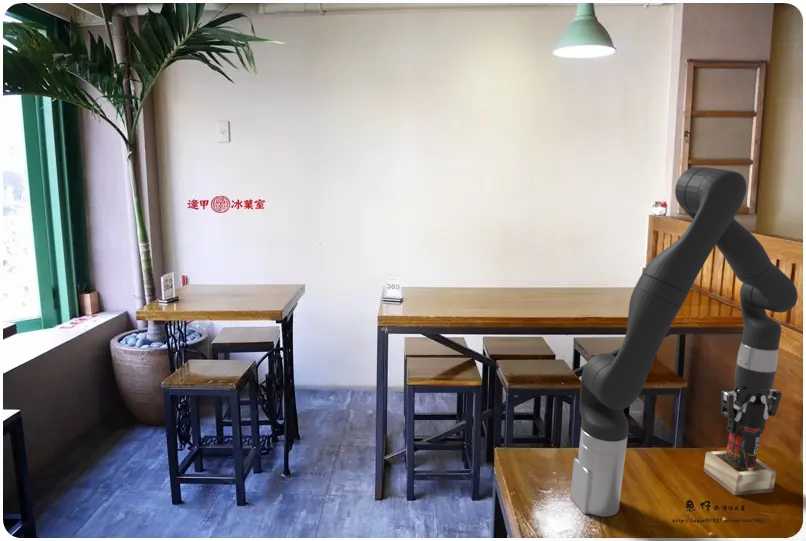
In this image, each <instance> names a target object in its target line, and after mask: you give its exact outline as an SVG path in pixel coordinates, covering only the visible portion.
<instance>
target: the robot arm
mask: <svg viewBox="0 0 806 541" xmlns="http://www.w3.org/2000/svg"><path fill="white" fill-rule="evenodd" d="M746 181H747V180H746V179H745V176H744V175H743V174H741V173H740V172H738V171H735V170H734V171H733V170H728V169H721V168H715V167H714V168H713V167H707V166H706V167H704V166H697V167H696V166H695V167H694V166H693V167H692V168H689V169H687V170H685V171H684V172H683V173H682V174H681V175H680V176H679V178H678V179H677V181H676V184H675V189H674V194H675V199H676V201H677V203H678V205H679V206H680V208H681V209H682V210H683V211H684V212H685V213H686V214H687V215H688V216H689V217H690V218H691V219H692V220H691V222H690V224H689V226H688V227H687V229H686V230H685V231H684V233H682V235H681V236H680V237H679V238H677V240H676V241H675V242H673V243H672V244H670V245H669V246H668V247H667V248H665V249H664V250H663V251H662V252H660V253H659V254H658V255H656V256H655V257H654V258H653V259H652V260H651V261H649V262H648V264H647V265H646V266H645V267H644V269H643V271H642V274H641V275H640V277H639V279H638V281H637V282H636V284H635V286H634V288H633V290H632V293H631V295H630V300H629V305H628V306H629V307H628V314H627V324H626V325H627V326H626V332H625V336H624V339H623V342H622V344H621V346H620V348H619V351H618V352H617V354H616V356H615V355H612V354H610V353H604V352H602V353H598V354H594V356H591V357H590V358H589V359H588V360H587V362H586V363H585V365H584V367H583V370H582V372H581V373H582V374H581V378H580V388H579V389H580V391H579V392H580V393H579V414H580V418H581V427H580V435H579V436H580V437H579V446H578V455H577V456H578V457H575V458H573V468H572V474H571V476H572V477H571V489H570V495H569V496H570V498H571V500H572V501H573V503H574V504H575V505H576V506H577V507H578V509H579V510H580V511H581V513H582V514H585V515H586V514H587V515H588V514H589V515H592V516H597V517H603V518H604V517H607V518H608V517H612V516H615V515H616V514H617V513H618V512H619V509H620V504H621V502H620V501H621V494H622V484H623V477H624V467H625V460H626V450H627V444H628V435H629V427H630V425H629V421H628V418H627V417H626V415H625V412H624V410H625V409H626V408H629V407H630V406H631V405H633V404H634V403H635V401H636V400H637V399H638V398H639V396H640V394H641V392H642V390H643V388H644V386H645V384H646V380H647V378H648V375H649V374H650V370H651V368H652V366H653V363H654V361H655V358H656V356H657V354H658V351H659V349H660V347H661V346H662V343H663V342H664V339H665V338H666V335H667V333H668V332H669V330H670V328H671V325H672V324H673V323H674V320H675V318H676V317H677V316H678V313H679V312H680V310H681V308H682V306H683V305H684V303H685V301H686V299H687V297H688V295H689V294H690V291H691V289H692V287H693V285H694V284H695V281H696V279H697V277H698V275H699V274H700V272H701V270H702V268H703V266H704V264H705V263H706V261H707V259H708V258H709V256H710V254H711V253H712V251H713V250H714V248H715V246H716V248H718V250H719V251H720V253H721V254H722V255H723V257H724V259H725V261H726V262H727V263H728V265H729V267H730V268H731V270H732V271H733V274H735V276H736V278H737V279H738V280H739V281H740V282H741V283H742V285H741V286H740V291H739V301H740V307H741V314H742V321H743V330H742V336H741V341H740V346H739V349H738V351H737V352H738V353H737V358H736V366H735V372H734V382H735V387H734V388H733V390H731V391H727V390H726V389H725V390H722V391H721V396H720V414H721V415H723V416H724V417H725V418H728V420H727V425H726V430H727V432H728V433H729V434H732V435H733V436H737V435H738V430H739V424H740V421H739V420H740V418H741V417H742V413H745V412H746V407H747V405H751V404H752V403H761V404H766V406H765V412H764V417H763V423H762V429H761V435H762V434H764V430H765V428H766V427H765V426H766V421H767V420H768V419H769V417H775V416H776V414H777V410H778V408H779V404H780V401H781V398H782V396H783V394H782V392H780V391H779V390H777V389H775V388H774V383H775V379H776V378H775V377H776V373H777V366H778V362H779V361H778V360H779V346H780V341H781V335H782V326H781V324H780V323H779V322H777V321H775V319H773V318H770V317H769V316H768V314H767V311H769V312H773V313H781V314H782V313H787V312H789V311H791V310H792V309H793V308H794V307H795V306H796V305H797V302H798V297H799V296H798V295H799V294H798V291H797V288H796V285H795V283H794V282H793V281H792V280H791V279H790V278H789V277H788V276H787V274H785V273H784V272H783V271H782V270H781V269H780V268H779V267H777V266H776V265H775V264H774V263H773V262H772V261H771V258H770V257H769V255H768V253H767V252H766V250H765V247H763V244H762V243H760V241H759V240H758V239H757V238H756V236H755V235H753V233H751V232H750V231H749V230H748V229H746V228H745V226H743V225H742V224H741V223H739V221H737V220H736V218H735V216H736V215H737V213H738V212H739V210H740V208H742V205H743V202H744V200H745V197H746V194H747V182H746ZM736 399H737V401H739V402H741V403H744V405H743V407H741V408H740V407H738V406H737V405H736V404H735V402H736ZM735 409H737V410H738V412H737V413H736V414H735Z"/></svg>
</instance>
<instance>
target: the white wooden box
mask: <svg viewBox="0 0 806 541" xmlns="http://www.w3.org/2000/svg"><path fill="white" fill-rule="evenodd" d="M726 453H727V450H717V451H706V452H705V458H704V465H703V470H702V471H703V472H705V474H707V475H708V476H709V477H710V478H712V479H713V480H714V481H716V482H717V483H718V484H719V485H721V486H722V487H723V488H724V489H726V490H727V491H728V492H729V493H731V494H732V495H734V496H743V495H744V496H745V495H752V494H753V495H754V494H763V493H764V494H765V493H774V488H775V482H776V477H777V471H775V470H774V469H773V468H771V467H770V466H769V465H767V464H765V463H763V462H762V461H760V459H758V458H756V464H755V466H754V467H752V468H745V467H740V466H737V465H734V464H732V463H730V462H729V461H728V460H727V459H726Z"/></svg>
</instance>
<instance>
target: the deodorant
mask: <svg viewBox="0 0 806 541" xmlns="http://www.w3.org/2000/svg"><path fill="white" fill-rule="evenodd" d="M735 404H736V405H737V406H738V407H740V408H741V407H743V405H744V403H741V402H739V401H737V399H736V402H735ZM765 406H766V404H761V403H752V404H751V405H747V407H746V412H745V413H742V417H741V418H740V420H739V421H740V424H739V430H738V435H737V436H733V435H732V434H730V433H729V434H728V435H729V436H728V440H727V448H726V451H727V453H726V459H727V460H728V461H729V462H730V463H732V464H734V465H737V466H740V467H745V468H752V467H754V466H755V464H756V459H758V452H759V445H760V440H761V435H762V434H761V429H762V423H763V417H764V412H765ZM737 412H738V410H737V409H735V414H736V413H737Z"/></svg>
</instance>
